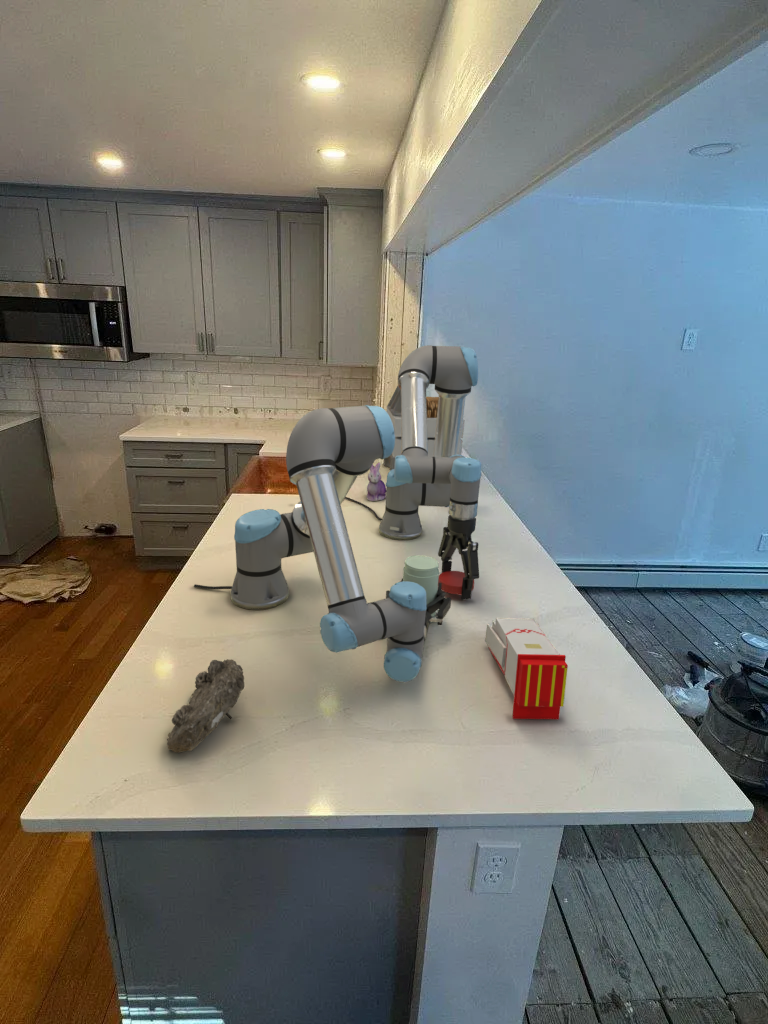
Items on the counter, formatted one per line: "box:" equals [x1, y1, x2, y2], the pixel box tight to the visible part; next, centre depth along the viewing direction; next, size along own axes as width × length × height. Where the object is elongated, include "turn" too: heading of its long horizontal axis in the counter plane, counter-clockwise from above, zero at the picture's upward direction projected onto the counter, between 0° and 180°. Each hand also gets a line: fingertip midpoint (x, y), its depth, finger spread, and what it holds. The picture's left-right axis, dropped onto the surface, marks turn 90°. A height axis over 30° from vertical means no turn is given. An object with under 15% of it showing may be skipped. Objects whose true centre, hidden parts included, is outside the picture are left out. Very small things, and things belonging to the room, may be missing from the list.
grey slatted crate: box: [383, 385, 465, 472], centre depth 268 cm, size 34×33×41 cm
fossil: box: [166, 658, 245, 754], centre depth 106 cm, size 22×10×15 cm
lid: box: [438, 570, 475, 595], centre depth 159 cm, size 10×10×2 cm
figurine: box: [365, 462, 387, 502], centre depth 233 cm, size 9×10×15 cm
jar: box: [402, 554, 440, 624], centre depth 144 cm, size 9×9×16 cm
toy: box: [484, 617, 569, 720], centre depth 122 cm, size 12×13×30 cm
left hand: (421, 585), depth 149 cm, fingers closed on jar, 9 cm apart
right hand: (455, 590), depth 160 cm, fingers closed on lid, 10 cm apart
